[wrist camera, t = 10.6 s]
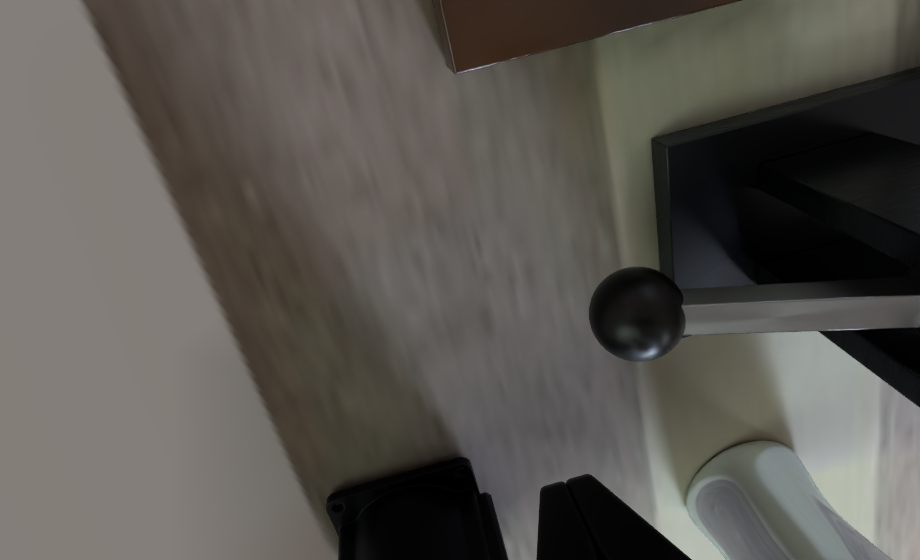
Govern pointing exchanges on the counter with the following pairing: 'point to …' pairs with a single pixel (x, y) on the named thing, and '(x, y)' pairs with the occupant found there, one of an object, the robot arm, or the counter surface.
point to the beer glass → (770, 509)
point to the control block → (541, 25)
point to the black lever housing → (802, 203)
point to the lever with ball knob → (740, 309)
